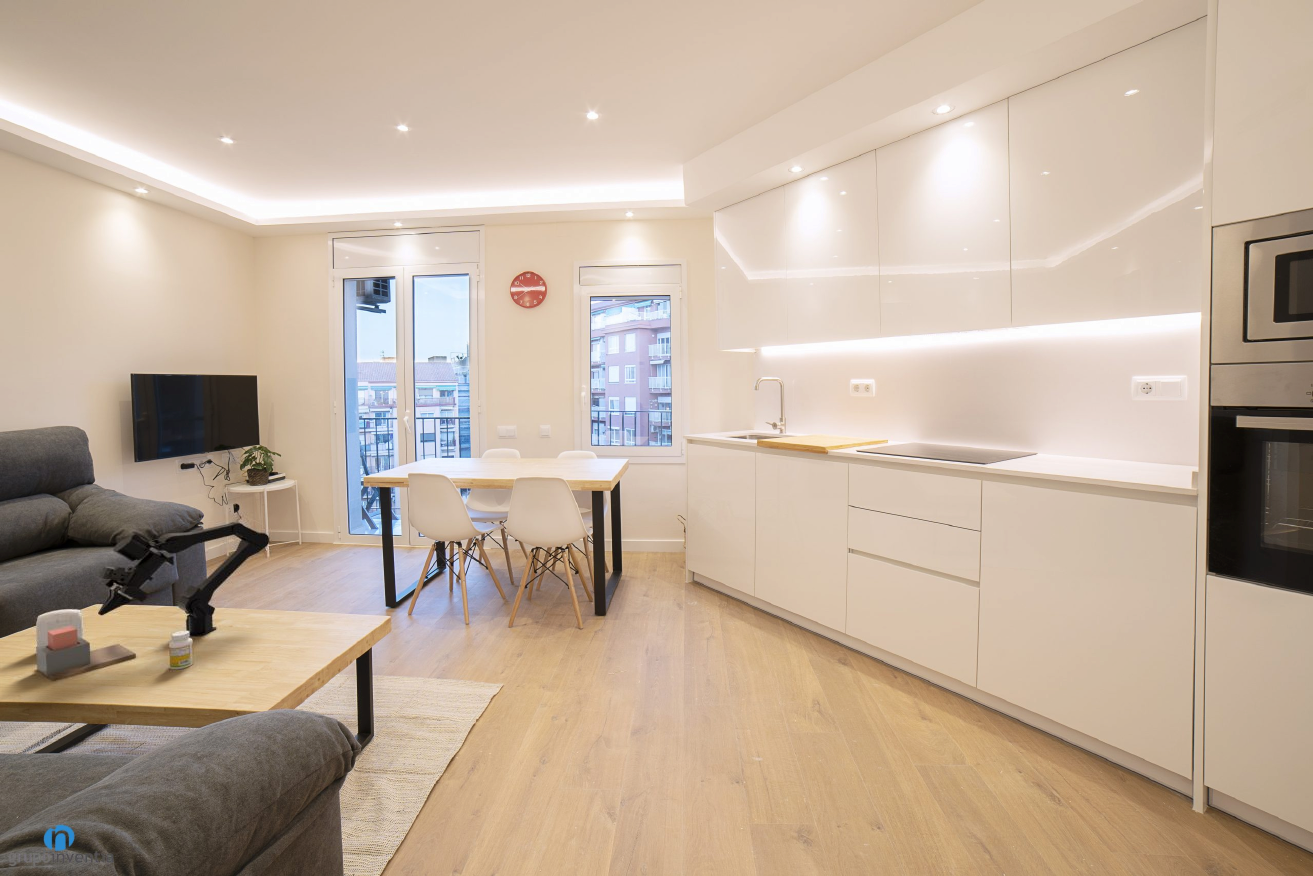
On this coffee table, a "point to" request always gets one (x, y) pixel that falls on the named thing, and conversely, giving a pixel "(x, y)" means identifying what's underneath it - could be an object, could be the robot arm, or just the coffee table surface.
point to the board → (97, 660)
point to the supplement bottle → (181, 650)
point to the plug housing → (63, 657)
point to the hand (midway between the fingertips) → (99, 614)
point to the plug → (62, 638)
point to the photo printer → (58, 623)
